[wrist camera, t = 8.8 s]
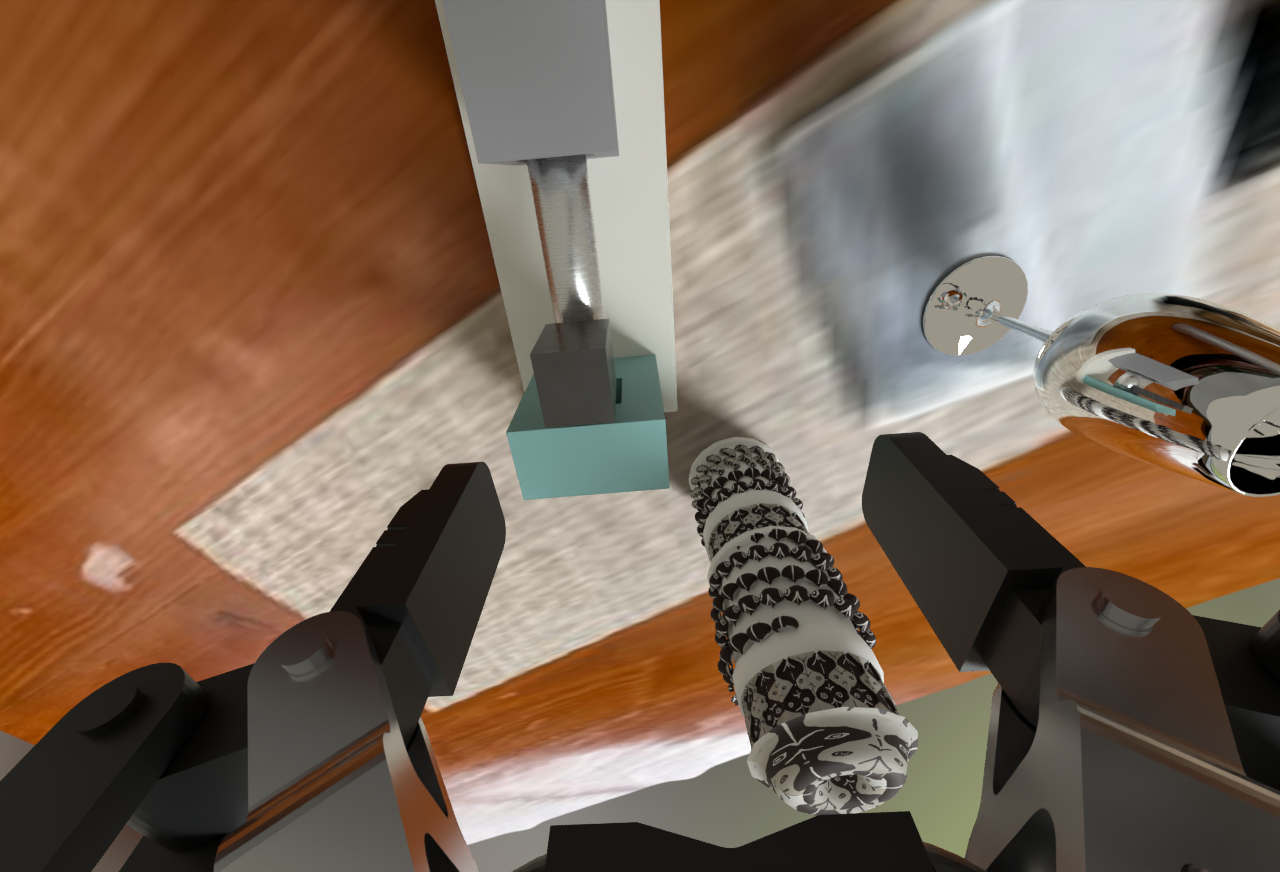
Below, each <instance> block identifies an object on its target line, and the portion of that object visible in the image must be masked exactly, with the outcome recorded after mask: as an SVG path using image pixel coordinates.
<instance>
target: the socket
mask: <svg viewBox="0 0 1280 872" xmlns="http://www.w3.org/2000/svg"><path fill="white" fill-rule="evenodd" d="M614 365H615V374H616V383H617V385H616V404H615V422H611V423H599V424H587V425H575V426H563V427H551V428H545V424H544V419H543V414H542V410H541V405H540V400H539V396H538V391H537V386H536V381H535V377H534V374H533V376H532V378H531V380H530V382H529V385H528V387H527V389H526V391H525V393H524V395H523V397H522V400H521V402H520V404H519V406H518V408H517V410H516V413H515V415H514V417H513V419H512V421H511V423H510V425H509V428H508V430H507V432H506V434H507V437H508V441H509V445H510V449H511V453H512V456H513V460H514V464H515V468H516V472H517V476H518V479H519V483H520V487H521V491H522V495H523V498H524V500H529V499H542V498H554V497H567V496H579V495H592V494H605V493H617V492H630V491H642V490H655V489H667V488H669V471H668V454H667V438H666V421H665V414H664V407H663V401H662V394H661V387H660V381H659V374H658V368H657V361H656V355H643V356H632V357H620V358H614Z"/></svg>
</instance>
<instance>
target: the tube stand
mask: <svg viewBox="0 0 1280 872" xmlns="http://www.w3.org/2000/svg"><path fill="white" fill-rule="evenodd" d="M435 3H436V8H437V12H438V17H439V21H440V25H441V30H442V34H443V38H444V43H445V47H446V52H447V56H448V60H449V65H450V69H451V74H452V78H453V82H454V87H455V91H456V95H457V100H458V104H459V109H460V113H461V117H462V122H463V126H464V130H465V135H466V139H467V144H468V148H469V152H470V157H471V161H472V166H473V170H474V174H475V179H476V183H477V187H478V192H479V196H480V201H481V205H482V209H483V214H484V218H485V223H486V227H487V231H488V236H489V240H490V244H491V249H492V253H493V258H494V262H495V266H496V271H497V275H498V280H499V284H500V288H501V293H502V297H503V301H504V306H505V310H506V315H507V319H508V323H509V328H510V332H511V337H512V341H513V345H514V350H515V354H516V358H517V363H518V367H519V372H520V376H521V380H522V385H523V389H524V393H525V391H526V389H527V387H528V385H529V382H530V380H531V378H532V376H533V374H534V372H533V367H532V363H531V358H530V353H531V351H532V349H533V347H534V346H535V344H536V342H537V340H538V338H539V336H540V334H541V332H542V331H543V329H544V327H545V325H546V324H552V323H555V320H554V314H553V309H552V303H551V297H550V292H549V286H548V280H547V275H546V269H545V263H544V258H543V252H542V246H541V241H540V235H539V229H538V224H537V218H536V212H535V207H534V201H533V195H532V190H531V184H530V178H529V173H528V167H527V161H526V160H530V159H540V158H551V157H561V156H572V155H582V154H586V160H587V168H588V177H589V185H590V194H591V202H592V210H593V219H594V227H595V235H596V244H597V252H598V260H599V269H600V277H601V285H602V294H603V302H604V310H605V319H609V322H610V331H611V340H612V348H613V357H614V358H620V357H632V356H643V355H656V361H657V368H658V374H659V381H660V387H661V394H662V401H663V407H664V413H665V412H677V411H678V405H677V382H676V360H675V338H674V315H673V293H672V270H671V248H670V226H669V203H668V181H667V159H666V136H665V114H664V91H663V69H662V47H661V24H660V2H659V0H435Z"/></svg>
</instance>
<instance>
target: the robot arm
mask: <svg viewBox="0 0 1280 872" xmlns="http://www.w3.org/2000/svg"><path fill="white" fill-rule="evenodd" d="M862 509H863V514H864V518H865V521H866V523H867V525H868V527H869V528H870V530H871V532H872V533H873V535H874V536H875V538H876V539H877V541H878V543H879V544H880V546H881V547H882V549H883V551H884V552H885V554H886V555H887V557H888V559H889V560H890V562H891V563H892V565H893V567H894V568H895V570H896V571H897V573H898V575H899V576H900V578H901V579H902V581H903V583H904V584H905V586H906V587H907V589H908V591H909V592H910V594H911V595H912V597H913V598H914V600H915V602H916V603H917V605H918V606H919V608H920V610H921V611H922V613H923V614H924V616H925V618H926V619H927V621H928V622H929V624H930V626H931V627H932V629H933V630H934V632H935V634H936V635H937V637H938V638H939V640H940V642H941V643H942V645H943V646H944V648H945V650H946V651H947V653H948V654H949V656H950V658H951V659H952V661H953V662H954V664H955V665H956V667H957V669H958V670H959V672H968V671H987V670H990V671H991V673H992V674H993V675H994V677H995V678H996V680H997V681H998V685H997V687H996V689H995V691H994V693H993V698H992V707H991V716H990V725H989V734H988V743H987V751H986V760H985V769H984V779H983V787H982V796H981V803H980V808H979V812H978V816H977V819H976V822H975V825H974V827H973V830H972V833H971V836H970V839H969V843H968V847H967V850H966V855H965V859H964V858H962V857H960V856H958V855H956V854H954V853H951V852H949V851H947V850H944V849H942V848H939V847H937V846H934V845H932V844H929V843H925V842H922V840H921V837H920V835H919V832H918V830H917V828H916V825H915V823H914V820H913V818H912V816H911V813H910V812H909V811H906V812H880V813H855V814H830V815H818V816H816V817H813V818H811V819H808V820H806V821H803V822H801V823H798V824H796V825H793V826H791V827H788V828H786V829H784V830H781V831H778V832H776V833H773V834H771V835H768V836H766V837H763V838H761V839H758V840H756V841H753V842H751V843H748V844H746V845H743V846H740V847H737V848H724V847H720V846H716V845H712V844H709V843H706V842H702V841H699V840H695V839H692V838H689V837H686V836H682V835H679V834H675V833H672V832H668V831H665V830H662V829H658V828H655V827H651V826H648V825H645V824H641V823H638V822H632V823H631V822H630V823H605V824H580V825H557V826H556V825H555V826H550V834H549V841H548V849H547V854H545V855H543V856H540V857H538V858H536V859H534V860H532V861H530V862H528V863H527V864H525V865H523V866H521V867H519V868H518V869H516V870H514V871H513V872H1280V610H1279V611H1278V612H1277V613H1276V614H1275V615H1274V616H1273V617H1272V618H1271V619H1270V620H1269V621H1268V622H1267V623H1266V624H1265V625H1264V626H1263V627H1262V628H1261V627H1255V626H1249V625H1244V624H1238V623H1233V622H1227V621H1221V620H1216V619H1210V618H1205V617H1199V616H1194V615H1192V614H1190V612H1189V611H1188V610H1187V609H1185V608H1184V607H1183V606H1182V605H1181V604H1180V603H1178V602H1177V601H1176V600H1174V599H1173V598H1171V597H1170V596H1169V595H1167V594H1165V593H1164V592H1162V591H1160V590H1159V589H1157V588H1155V587H1153V586H1151V585H1149V584H1147V583H1145V582H1143V581H1140V580H1138V579H1136V578H1133V577H1131V576H1128V575H1125V574H1122V573H1118V572H1115V571H1111V570H1106V569H1101V568H1092V567H1086V566H1085V565H1083V564H1082V563H1081V562H1080V561H1079V560H1078V559H1077V558H1076V557H1075V556H1074V555H1072V554H1071V553H1070V552H1069V551H1068V550H1067V549H1066V548H1065V547H1064V546H1063V545H1062V544H1060V543H1059V542H1058V541H1057V540H1056V539H1055V538H1054V537H1053V536H1052V535H1051V534H1049V533H1048V532H1047V531H1046V530H1045V529H1044V528H1043V527H1042V526H1041V525H1040V524H1038V523H1037V522H1036V521H1035V520H1034V519H1033V518H1032V517H1031V516H1030V515H1029V514H1027V513H1026V512H1025V511H1024V510H1023V509H1022V508H1021V507H1020V508H1017V506H1016V503H1015V502H1014V501H1013V500H1012V499H1011V498H1010V497H1009V496H1008V495H1007V494H1006V493H1004V492H1000V491H999V487H998V486H997V485H996V484H995V483H993V482H992V481H991V480H990V479H989V478H988V477H987V476H986V475H985V474H984V473H982V472H981V471H980V470H979V469H977V468H975V467H973V466H972V465H970V464H968V463H966V462H964V461H962V460H960V459H958V458H956V457H955V456H953V455H946V454H945V453H944V452H943V451H942V450H941V449H940V448H939V447H938V446H937V445H936V444H935V443H934V442H932V441H931V440H930V439H929V438H928V437H927V436H926V435H925V434H923V433H921V432H913V433H899V434H885V435H879V436H878V437H877V438H876V440H875V441H874V444H873V448H872V453H871V457H870V462H869V466H868V471H867V476H866V480H865V485H864V489H863V494H862ZM387 527H388V530H385V531H384V532H383V534H382V535H381V537H380V538H379V540H378V541H377V543H376V544H377V546H376V547H373V549H372V550H371V552H370V553H369V554H368V556H367V557H366V559H365V560H364V562H363V563H362V565H361V566H360V568H359V569H358V571H357V572H356V574H355V575H354V577H353V578H352V580H351V581H350V582H349V584H348V585H347V587H346V588H345V590H344V591H343V593H342V594H341V596H340V597H339V599H338V600H337V602H336V603H335V605H334V606H333V608H332V609H331V611H330V612H327V613H322V614H319V615H316V616H313V617H311V618H308V619H306V620H304V621H302V622H300V623H298V624H296V625H295V626H293V627H291V628H290V629H288V630H287V631H285V632H284V633H283V634H282V635H280V636H279V637H278V638H276V639H275V640H274V641H273V642H272V643H271V644H270V645H269V646H268V647H267V648H266V649H265V650H264V651H263V653H262V654H261V655H260V656H259V658H258V659H257V661H256V662H255V663H254V664H251V665H248V666H245V667H242V668H239V669H236V670H233V671H229V672H226V673H223V674H220V675H217V676H214V677H211V678H208V679H205V680H202V681H198V682H195V681H194V680H193V679H192V678H191V677H190V676H189V675H188V674H187V673H186V672H185V671H184V670H183V669H182V668H181V667H180V666H178V665H176V664H173V663H157V664H152V665H148V666H145V667H141V668H139V669H136V670H133V671H131V672H129V673H126V674H124V675H122V676H120V677H118V678H116V679H114V680H113V681H111V682H109V683H107V684H105V685H104V686H102V687H101V688H99V689H98V690H96V691H95V692H93V693H92V694H90V695H89V696H88V697H86V698H85V699H83V700H82V701H81V702H80V703H78V704H77V705H76V706H75V707H74V708H72V709H71V710H70V711H69V712H68V713H67V714H66V715H65V716H64V717H63V718H62V719H61V720H60V721H59V722H58V723H57V724H56V725H55V726H54V727H53V728H52V729H51V730H50V731H49V732H48V733H47V734H46V735H45V736H44V737H43V738H42V739H41V740H40V741H39V742H38V743H37V744H36V745H35V746H34V747H33V748H32V749H31V750H30V751H29V752H28V754H26V755H25V756H24V757H23V759H22V760H21V761H20V762H19V763H18V764H17V765H16V766H15V767H14V768H13V769H12V770H11V771H10V772H9V773H8V774H7V775H6V776H5V777H4V778H3V779H2V780H1V781H0V872H91V871H92V870H93V868H94V867H95V866H96V865H97V863H98V862H99V860H100V859H101V858H102V856H103V855H104V853H105V852H106V851H107V849H108V848H109V847H110V845H111V844H112V842H113V841H114V840H115V838H116V837H117V835H118V834H119V833H120V831H121V830H122V829H123V827H124V826H125V824H127V825H128V826H130V827H132V828H133V829H135V830H136V831H138V832H139V833H141V834H143V835H144V836H143V838H142V839H141V840H140V842H139V843H138V845H137V846H136V848H135V849H134V851H133V852H132V854H131V855H130V856H129V858H128V859H127V861H126V862H125V864H124V865H123V867H122V868H121V870H120V871H119V872H479V871H478V868H477V866H476V863H475V861H474V859H473V856H472V854H471V852H470V850H469V848H468V846H467V844H466V842H465V840H464V838H463V835H462V833H461V831H460V828H459V826H458V823H457V820H456V818H455V815H454V812H453V809H452V806H451V803H450V800H449V797H448V794H447V791H446V788H445V785H444V782H443V779H442V776H441V773H440V770H439V767H438V764H437V761H436V759H435V756H434V753H433V750H432V747H431V744H430V741H429V738H428V735H427V732H426V729H425V726H424V724H423V722H422V720H421V718H420V716H421V714H422V711H423V708H424V706H425V703H426V701H427V698H428V697H433V696H453V694H454V691H455V688H456V685H457V682H458V679H459V676H460V673H461V670H462V668H463V665H464V662H465V659H466V656H467V653H468V650H469V647H470V644H471V641H472V638H473V635H474V633H475V630H476V627H477V624H478V621H479V618H480V615H481V612H482V609H483V606H484V603H485V600H486V598H487V595H488V592H489V589H490V586H491V583H492V580H493V577H494V574H495V571H496V568H497V566H498V563H499V560H500V557H501V554H502V551H503V548H504V544H505V537H506V527H505V519H504V516H503V512H502V509H501V506H500V503H499V499H498V496H497V493H496V490H495V486H494V483H493V480H492V477H491V473H490V470H489V468H488V466H487V465H486V464H485V463H484V462H473V463H459V464H447V465H445V466H444V467H443V468H442V470H441V471H440V473H439V475H438V476H437V478H436V479H435V481H434V483H433V484H432V486H431V487H430V489H429V490H421V491H420V492H419V493H417V494H416V495H415V496H414V497H412V498H411V499H410V500H409V501H408V502H406V503H405V504H404V505H403V506H401V507H400V509H399V510H398V512H397V513H396V515H395V516H394V518H393V519H392V521H391V522H390V523H389V525H388V526H387Z"/></svg>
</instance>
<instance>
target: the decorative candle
mask: <svg viewBox="0 0 1280 872" xmlns="http://www.w3.org/2000/svg"><path fill="white" fill-rule="evenodd" d="M688 480H689V484H690V487H691V491H690V495H691V496H692V497H695V498H696V499H697V500H695V501H693V502H692V506H693V507H694V508H697V510H698V511H699V512H697V513H696V514H695V519H696V521H697V522H698V523H699V524H700V525H699V526H698V527H697V531H698V534H699V535H700V536H701V537H703V538H702V540H701V543H702V545H703V546H704V547H706V550H707V554H708V557H709V560H710V561H711V565H710V569H709V572H708V580H709V584H710V588H709V595H710V597H711V598H713V599H714V600H713V607H714V608H713V609H712V611H711V618H712V619H713V620H714V621H715V622H716V623H715V629H716V634H715V640H716V642H717V644H718V645H720V646H721V651H720V659H721V660H720V661H719V662H718V669H719V671H720V672H721V673H722V674H723V678H724V680H725V681H726V682H727V683H728V684H731V685H729V686H728V689H729V691H730V692H733V691H734V689H733V685H734V687H735V692H736V695H735V696H733V697H732V700H731V701H732V702H733V703H735V705H739V707H740V710H741V713H742V715H743V716H744V717H745V723H746V727H747V732H748V735H749V740H750V743H751V749H752V750H751V752H750V754H749V757H748V759H747V763H748V766H749V769H750V772H751V775H752V776H753V777H754V778H756V779H757V780H758V781H760V782H761V783H763V784H764V785H765V786H767V787H769V788H772V789H773V790H774V792H775V793H776V794H777V795H778V796H779V798H780V799H782V800H783V801H784V802H785V803H787V804H788V805H790V806H791V807H792V808H794V809H796V810H797V811H800V812H804V813H808V814H812V815H817V816H818V815H830V814H855V813H859V812H862V811H865V810H868V809H871V808H874V807H877V806H879V805H880V804H882V803H884V802H886V801H887V800H889V799H891V798H892V797H894V796H895V795H896V793H897V792H898V791H899V790H900V789H901V787H902V786H903V785H904V783H905V781H906V778H907V761H908V760H909V759H910V757H911V756H912V755H913V753H914V752H915V751H916V750H917V742H918V731H917V730H916V729H915V728H914V727H913V726H912V725H911V724H910V723H909V722H908V720H907V719H906V718H905V717H902V716H900V715H899V713H898V712H897V709H896V704H895V702H894V701H893V698H892V696H891V694H890V693H889V691H888V690H887V688H886V686H885V685H884V673H883V671H882V669H881V667H880V665H879V663H878V661H877V659H876V657H875V655H874V653H873V651H872V648H873V647H874V646H875V643H876V638H875V635H874V633H873V632H872V631H870V630H869V628H870V621H869V619H868V617H867V616H866V615H864V614H863V613H861V612H858V611H857V610H858V608H859V607H860V602H859V600H858V599H857V597H856V596H854V595H852V594H849V593H847V586H846V584H845V583H844V582H843V581H842V579H843V578H842V574H841V572H840V571H839V570H838V569H836V568H834V567H832V566H833V564H834V559H833V557H832V556H831V555H830V554H828V553H827V552H826V550H825V549H824V548H823V545H822V543H821V542H820V541H818V540H817V539H816V538H815V536H813V535H810V533H809V532H808V525H807V522H806V520H805V516H804V514H803V512H801V511H800V510H801V509H802V507H803V503H802V501H801V500H799V499H797V498H794V497H795V495H796V490H795V489H794V488H793V487H790V486H789V484H790V478H789V476H788V475H787V474H786V473H785V472H784V467H783V465H782V464H781V463H779V461H778V458H777V457H776V455H775V454H774V453H773V452H772V450H771V449H770V448H769V446H767V445H765V444H763V443H761V442H760V441H758V440H756V439H754V438H744V437H732V438H728V439H724V440H720V441H716V442H715V443H713V444H712V445H710V446H709V447H707V448H706V449H704V450H703V451H701V452H700V454H699V455H698V457H697V458H696V459H695V461H694V462H693V463H692V465H691V469H690V474H689V479H688ZM720 612H723V615H722V617H721V613H720ZM849 617H850V618H849ZM850 619H851V620H850ZM859 628H860V631H858V630H857V629H859ZM860 635H861V637H860ZM726 637H727V639H726ZM733 657H734V661H735V666H736V667H735V670H733ZM729 665H731V668H729Z"/></svg>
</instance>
